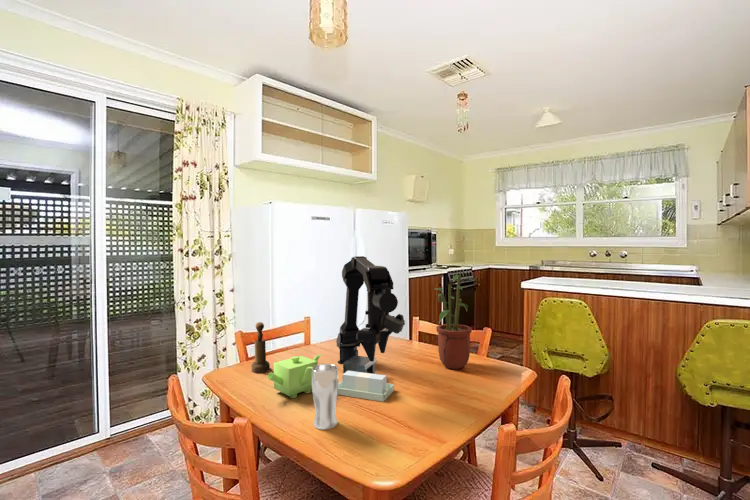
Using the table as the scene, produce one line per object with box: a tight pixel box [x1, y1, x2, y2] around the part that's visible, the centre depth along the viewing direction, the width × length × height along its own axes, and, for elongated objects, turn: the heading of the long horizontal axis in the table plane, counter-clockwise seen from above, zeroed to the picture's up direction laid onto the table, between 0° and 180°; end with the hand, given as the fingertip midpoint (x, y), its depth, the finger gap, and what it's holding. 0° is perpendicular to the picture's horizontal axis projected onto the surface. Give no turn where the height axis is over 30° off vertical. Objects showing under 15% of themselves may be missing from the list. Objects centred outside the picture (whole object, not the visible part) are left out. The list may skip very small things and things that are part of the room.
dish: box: [337, 380, 395, 403], centre depth 121 cm, size 17×9×2 cm, turn 68°
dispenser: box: [342, 355, 377, 375], centre depth 132 cm, size 9×9×7 cm
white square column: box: [341, 371, 388, 394], centre depth 121 cm, size 14×4×5 cm, turn 68°
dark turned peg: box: [251, 321, 271, 374], centre depth 143 cm, size 7×6×18 cm
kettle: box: [267, 353, 323, 399], centre depth 122 cm, size 15×14×11 cm
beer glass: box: [311, 363, 339, 431], centre depth 100 cm, size 7×7×15 cm
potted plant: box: [434, 274, 473, 370], centre depth 145 cm, size 17×16×35 cm
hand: (377, 357), depth 119 cm, fingers open, 9 cm apart
